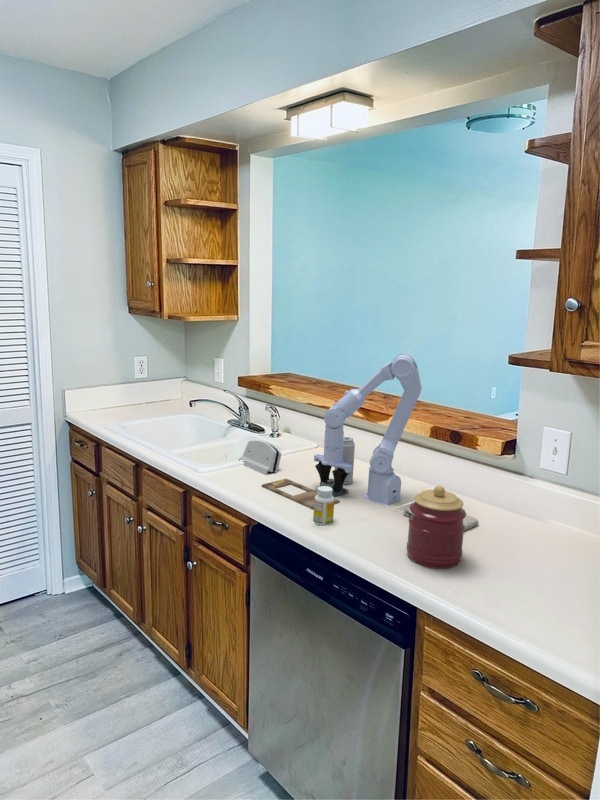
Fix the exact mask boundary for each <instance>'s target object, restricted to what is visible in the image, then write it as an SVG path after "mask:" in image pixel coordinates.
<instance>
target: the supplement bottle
mask: <svg viewBox="0 0 600 800" xmlns="http://www.w3.org/2000/svg"><path fill="white" fill-rule="evenodd" d="M317 489H318V490H317V493H318V494H317V495H316V496H315V498H314V510H313V519H312V520H313V523H314V524H315V525H316V524H317V526H320V527H323V526H324V525H330V524H332V523H334V514H335V504H334V498H335V497H333V496H332V493H333V489H332V488H331V487H328V486H320V485H319V486H318V487H317Z"/></svg>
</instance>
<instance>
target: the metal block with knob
mask: <svg viewBox="0 0 600 800" xmlns="http://www.w3.org/2000/svg"><path fill="white" fill-rule="evenodd" d="M320 486H328V487H331V488H332V489H333V493H332V495H335V494H338V493H342V492H343V488H344V485H343V486H342V489H341V491H340V492H337V493H336V492H335V490H334V478H329V479H327V480H324V481H321V480H320V481H319V487H320Z"/></svg>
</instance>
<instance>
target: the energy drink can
mask: <svg viewBox="0 0 600 800" xmlns="http://www.w3.org/2000/svg"><path fill="white" fill-rule="evenodd" d="M355 447H356V444H355V442H354V438H353V437H349V436H344V438H343V456H342V460H343V461H345V462H346V463H348V464H350V465H352V472H349V474H348V475H347V477H346V479H345V481H344V483H343V486H347V485H351V484H352V483H353V481H354V480H353V479H354V467H355V466H354V465H355V464H354V463H355V449H356V448H355ZM334 470H337V468H335V467H334Z"/></svg>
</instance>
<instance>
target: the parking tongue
mask: <svg viewBox="0 0 600 800" xmlns="http://www.w3.org/2000/svg"><path fill="white" fill-rule="evenodd" d="M314 490H315V491H317V490H318V488H317V489H314ZM349 491H350V490H349V489H348V488H345V487H343V492H342V493H338V494H335V495H332V496H333V497H334V498H336V497H340V496H343V495H346V494H349Z"/></svg>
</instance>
